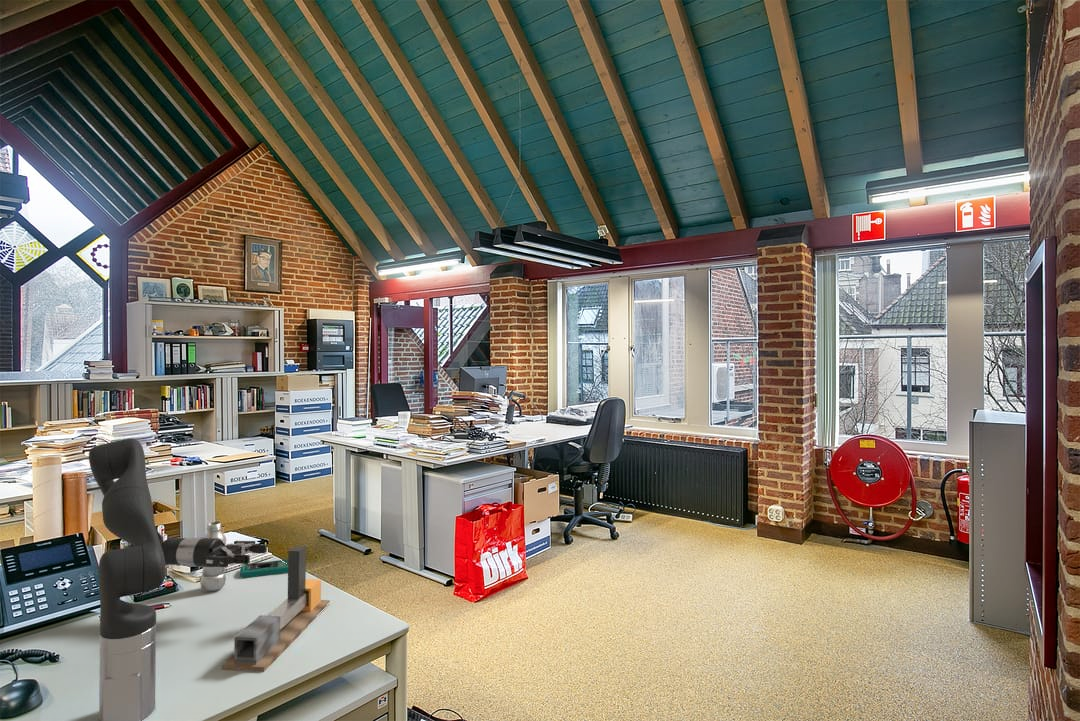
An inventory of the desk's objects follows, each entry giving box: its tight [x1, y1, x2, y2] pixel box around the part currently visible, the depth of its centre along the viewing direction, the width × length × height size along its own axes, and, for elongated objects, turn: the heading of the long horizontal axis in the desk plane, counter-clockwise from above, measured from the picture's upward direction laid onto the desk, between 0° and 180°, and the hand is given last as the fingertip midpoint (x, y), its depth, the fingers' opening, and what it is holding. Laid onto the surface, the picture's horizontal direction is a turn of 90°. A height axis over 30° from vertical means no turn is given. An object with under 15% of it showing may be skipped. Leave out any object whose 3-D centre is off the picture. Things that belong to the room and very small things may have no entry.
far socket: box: [301, 578, 322, 612], centre depth 167 cm, size 6×6×6 cm
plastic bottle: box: [199, 521, 227, 592], centre depth 179 cm, size 6×7×20 cm
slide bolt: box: [267, 545, 309, 630], centre depth 156 cm, size 22×3×16 cm, turn 176°
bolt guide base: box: [220, 599, 331, 673], centre depth 153 cm, size 36×10×7 cm, turn 176°
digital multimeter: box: [239, 558, 288, 579], centre depth 194 cm, size 7×15×3 cm, turn 113°
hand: (257, 554), depth 161 cm, fingers open, 8 cm apart
